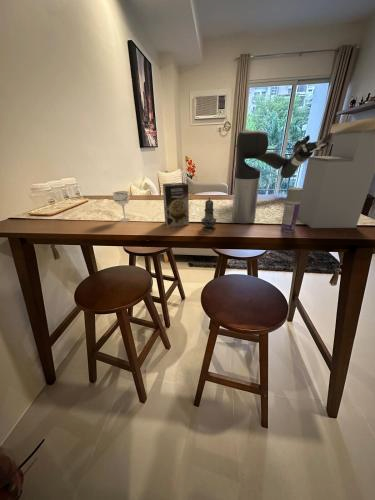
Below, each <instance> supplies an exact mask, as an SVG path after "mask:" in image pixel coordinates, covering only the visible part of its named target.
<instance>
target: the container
mask: <svg viewBox="0 0 375 500" xmlns="http://www.w3.org/2000/svg"><path fill="white" fill-rule="evenodd" d="M302 190H303V189H302V187H288V189H287V194H286V198H285V204H284V209H283V214H282V220H281V224H280V225H281V226H280V231H282V232H285V233H294V232H295V230H296V227H297V226H296V225H297V221H298V217H297V216H298V212H299V207H300V201H301V196H302Z"/></svg>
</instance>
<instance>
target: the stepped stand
mask: <svg viewBox="0 0 375 500" xmlns="http://www.w3.org/2000/svg"><path fill="white" fill-rule="evenodd" d="M306 163H307V164H306V170H305V174H304V178H303V182H302V183H303V184H302V187H301V188H302V189H303V190H302V196H301V201H300V207H299V212H298V216H297V219H298V220H299V221H302V223H305V225H307V226H308V227H309V228H311V229H329V228H330V229H336V228H337V229H338V228H339V229H342V228H343V229H345V228H346V229H351V228H353V229H355V228H357V226H358V223H359V219H360V217H361V215H362V211H363V208H364V205H365V202H366V200H367V196H368V193H369V191H370V187H371V185H372V182H373V179H374V176H375V129H370V130H354V131H344V132H336V133H335V137H334V140H333V145H332V147H331V153H330V155H318V156H310V157H309V158H308V159H307V162H306Z"/></svg>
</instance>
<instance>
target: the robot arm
mask: <svg viewBox="0 0 375 500" xmlns="http://www.w3.org/2000/svg"><path fill="white" fill-rule="evenodd" d="M330 134H331V133H330ZM330 134H326V135H325V136H324V137H323V139H320V140H319V139H318V140H316V141H314V142H309V141H310V140H311V139H310V137H311V136H310V135H309V134H308V135H306V136H304V138H303V139H301V140H296V142H295V143H294V145H293V146H292V152H293V153H292V154H291V156H290V157H289V158H287V157H283V156H281V155H280V154H278V153H277V152H275V151H271V150H270V151H269V150H268V148H269V136H268V133H267V131H265V130H262V129H259V130H258V129H257V130H252V129H245V130H242V131H240V132H239V133H238V135H237V139H236V146H235V147H236V164H235V175H234V177H235V178H234V190H233V191H234V192H233V197H232V204H231V205H232V207H231V209H232V211H231V220H232V222H233V223H238V224H251V223H254V222H255V220H256V214H257V203H258V198H259V197H258V194H259V188H260V187H259V186H260V179H261V178H260V177H261V170H260V169H258V168H257V167H253V166H250V165H249V164H248V163H247V162H246V159H249V160H252V159H255V160H257V161H259V162H261V163H264V164H267V165H268V166H270V167H271V168H273V169H274V170H279V169H280V172H279V174H280V177H281V178H283V179H291V178H292V177H293V176H294V175H295V173H296V172H297V170H298V168H299V167H300V166H302V164H304V163H305V162H306V161H308V158H309V157H312V155H313V154H314V152H315V151H317V150H319V152H322V151H323V150H325V149H326V148H328V146H330V140H331V135H330Z"/></svg>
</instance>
